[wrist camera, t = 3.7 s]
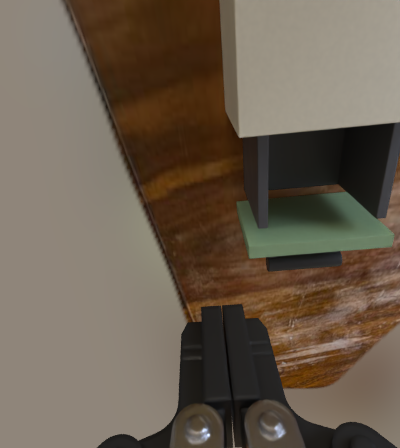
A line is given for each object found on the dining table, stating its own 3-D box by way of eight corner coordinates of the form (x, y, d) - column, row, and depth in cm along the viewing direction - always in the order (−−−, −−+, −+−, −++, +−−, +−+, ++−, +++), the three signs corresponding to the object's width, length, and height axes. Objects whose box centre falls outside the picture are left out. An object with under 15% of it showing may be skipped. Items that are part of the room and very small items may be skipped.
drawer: (341, 236, 35) (382, 288, 28) (238, 245, 36) (250, 298, 28) (366, 57, 27) (435, 59, 19) (230, 71, 27) (244, 78, 19)
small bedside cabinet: (362, 97, 29) (441, 118, 20) (225, 111, 30) (238, 138, 20) (393, -124, 22) (539, -257, 13) (213, -102, 23) (226, -214, 13)
